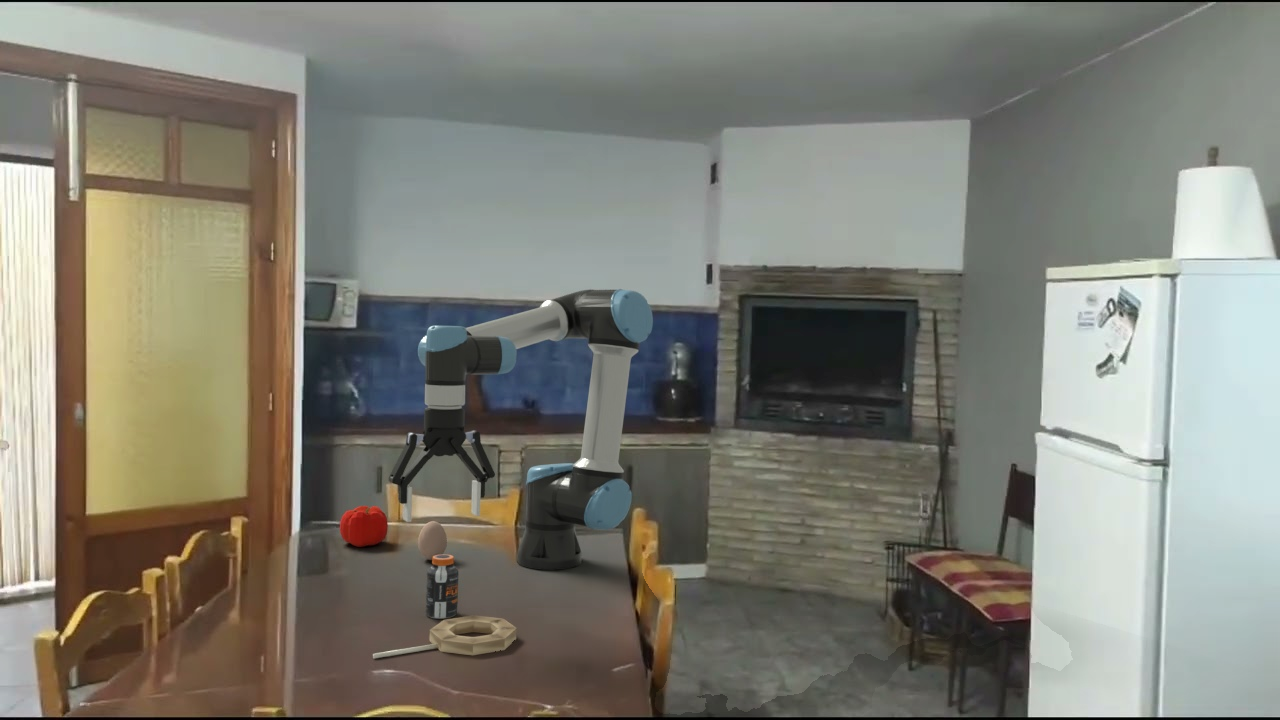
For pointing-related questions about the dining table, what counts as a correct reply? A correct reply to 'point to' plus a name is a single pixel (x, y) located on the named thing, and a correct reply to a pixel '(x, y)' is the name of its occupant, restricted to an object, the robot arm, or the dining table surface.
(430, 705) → the dining table surface
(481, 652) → the beige flat ring
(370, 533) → the tomato
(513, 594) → the dining table surface
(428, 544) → the egg
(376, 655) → the white thin rod
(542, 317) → the robot arm
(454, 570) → the pill bottle
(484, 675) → the dining table surface
